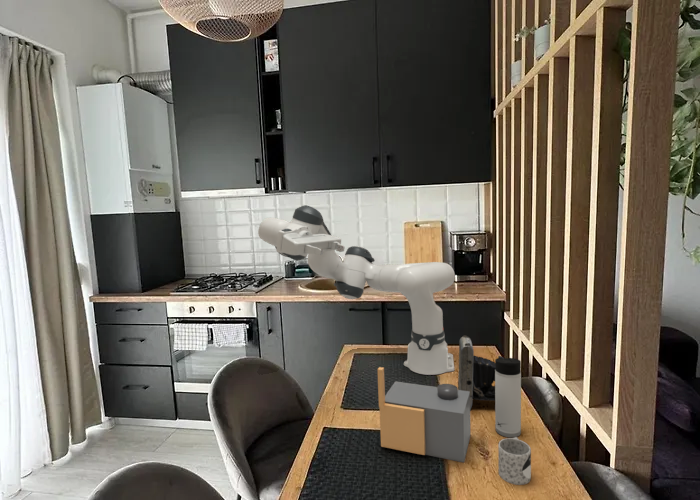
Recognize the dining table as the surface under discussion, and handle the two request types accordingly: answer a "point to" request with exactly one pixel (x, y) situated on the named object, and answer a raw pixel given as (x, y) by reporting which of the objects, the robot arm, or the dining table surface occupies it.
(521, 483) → the mug
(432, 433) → the housing
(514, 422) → the travel mug
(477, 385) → the vintage camera
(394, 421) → the side door
